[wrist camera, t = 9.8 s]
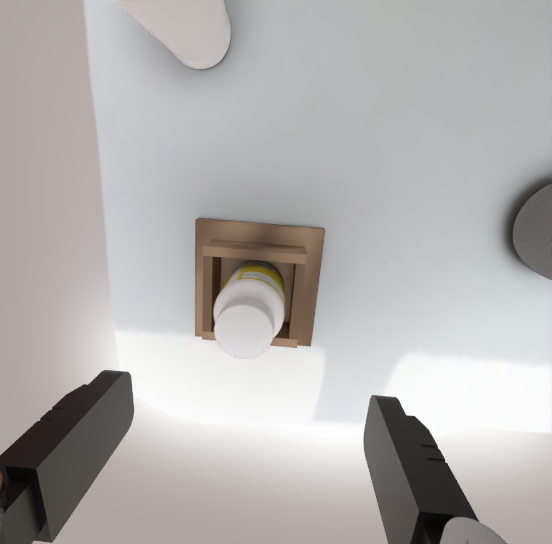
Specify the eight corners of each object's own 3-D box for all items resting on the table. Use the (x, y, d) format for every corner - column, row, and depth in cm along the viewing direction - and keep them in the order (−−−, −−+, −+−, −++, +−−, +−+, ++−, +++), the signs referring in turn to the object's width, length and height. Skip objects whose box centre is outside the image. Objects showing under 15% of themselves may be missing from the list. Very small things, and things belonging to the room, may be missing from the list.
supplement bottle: (246, 319, 30) (227, 379, 21) (219, 273, 29) (186, 314, 19) (294, 297, 29) (297, 349, 20) (269, 248, 28) (259, 279, 19)
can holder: (323, 228, 28) (330, 236, 24) (309, 340, 32) (313, 365, 27) (199, 218, 29) (182, 223, 24) (198, 330, 32) (183, 354, 27)
